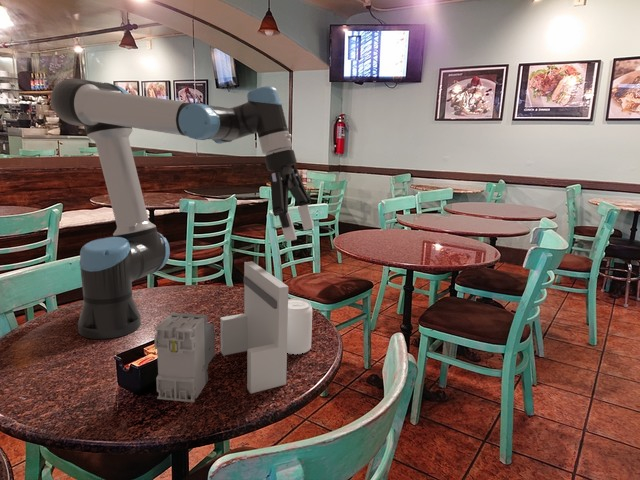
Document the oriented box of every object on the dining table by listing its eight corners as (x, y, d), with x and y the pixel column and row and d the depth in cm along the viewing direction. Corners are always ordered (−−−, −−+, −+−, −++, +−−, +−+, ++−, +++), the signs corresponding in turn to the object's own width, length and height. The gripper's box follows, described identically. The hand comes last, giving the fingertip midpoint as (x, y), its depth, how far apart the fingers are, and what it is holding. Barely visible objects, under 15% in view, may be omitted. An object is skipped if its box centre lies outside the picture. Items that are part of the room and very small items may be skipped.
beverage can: (274, 343, 115) (275, 299, 112) (304, 339, 118) (306, 296, 115) (283, 358, 107) (284, 311, 105) (315, 354, 110) (317, 307, 107)
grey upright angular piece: (220, 352, 109) (219, 264, 104) (251, 345, 113) (252, 261, 108) (250, 393, 92) (251, 291, 87) (286, 384, 96) (288, 286, 91)
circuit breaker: (217, 366, 102) (216, 304, 99) (193, 402, 89) (192, 331, 85) (185, 363, 103) (183, 302, 100) (157, 398, 89) (153, 328, 86)
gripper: (272, 149, 98) (297, 242, 101) (308, 146, 121) (327, 222, 125) (242, 158, 101) (268, 248, 104) (283, 153, 124) (303, 228, 127)
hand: (300, 234), depth 114 cm, fingers open, 13 cm apart
